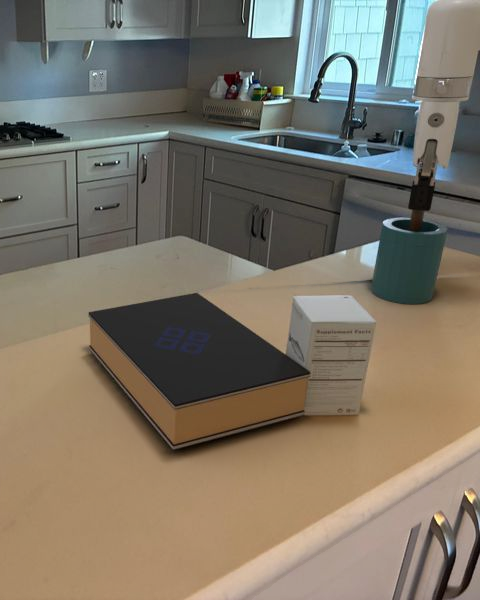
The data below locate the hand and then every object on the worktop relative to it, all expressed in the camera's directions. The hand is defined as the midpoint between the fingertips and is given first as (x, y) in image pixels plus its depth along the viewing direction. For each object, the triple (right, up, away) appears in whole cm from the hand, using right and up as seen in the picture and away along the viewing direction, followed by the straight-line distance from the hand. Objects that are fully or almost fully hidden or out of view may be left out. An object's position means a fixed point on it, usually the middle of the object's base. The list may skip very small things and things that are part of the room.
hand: (419, 206), depth 100 cm
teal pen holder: (0, -14, +5) cm, 15 cm away
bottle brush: (0, -10, +4) cm, 11 cm away
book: (-42, -26, -20) cm, 53 cm away
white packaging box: (-26, -28, -24) cm, 45 cm away
